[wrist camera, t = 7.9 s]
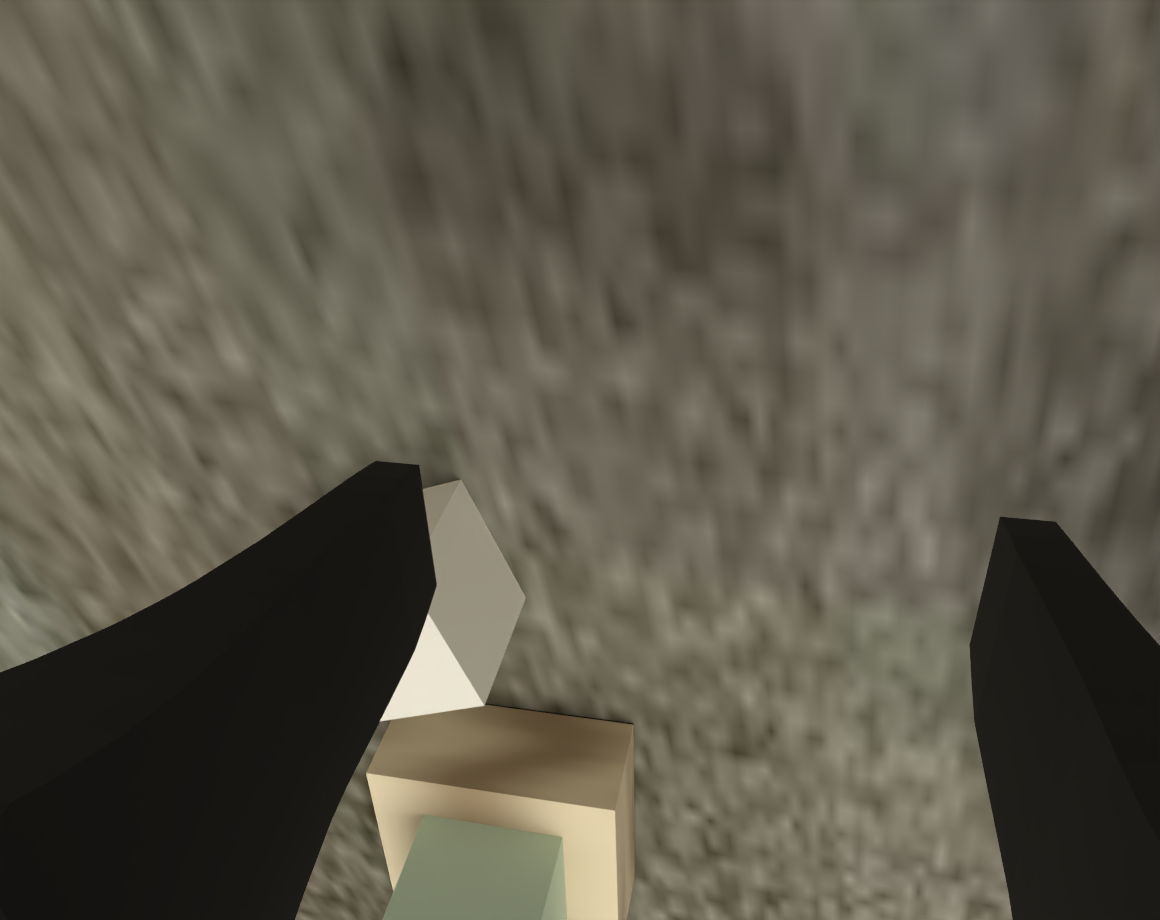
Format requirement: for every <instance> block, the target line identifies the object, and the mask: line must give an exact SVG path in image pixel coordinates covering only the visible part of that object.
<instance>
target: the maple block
mask: <svg viewBox="0 0 1160 920" xmlns="http://www.w3.org/2000/svg"><path fill="white" fill-rule="evenodd" d="M366 774H367V779H368V783H369V787H370V792H371V796H372V800H373V805H374V809H375V813H376V818H377V822H378V827H379V831H380V835H381V840H382V844H383V848H384V853H385V857H386V861H387V866H388V870H389V874H390V879H391V883H392V887H393V892H394V889H395V887H396V884H397V882H398V879H399V877H400V874H401V872H402V869H403V866H404V864H405V861H406V859H407V856H408V854H409V851H410V849H411V846H412V844H413V841H414V839H415V836H416V834H417V831H418V829H419V826H420V824H421V821H422V819H423V816H424V814H425V815H431V816H437V817H443V818H449V819H455V820H461V821H467V822H473V823H479V824H485V825H491V826H497V827H503V828H509V829H515V830H522V831H528V832H534V833H540V834H546V835H552V836H558V837H563V854H564V872H565V890H566V908H567V920H627V915H628V910H629V904H630V899H631V894H632V888H633V883H634V877H635V804H634V725H632V724H625V723H617V722H610V721H602V720H595V719H588V718H580V717H573V716H565V715H558V714H551V713H543V712H536V711H528V710H521V709H513V708H506V707H499V706H491V705H485V706H479V707H472V708H466V709H459V710H452V711H446V712H439V713H432V714H426V715H419V716H412V717H405V718H399V719H392V720H391V722H390V724H389V726H388V728H387V730H386V732H385V734H384V736H383V739H382V741H381V743H380V745H379V747H378V749H377V751H376V753H375V756H374V758H373V760H372V762H371V764H370V766H369V768H368V770H367V773H366Z"/></svg>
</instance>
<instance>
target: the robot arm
mask: <svg viewBox="0 0 1160 920" xmlns="http://www.w3.org/2000/svg"><path fill="white" fill-rule="evenodd" d="M436 587H437V582H436V575H435V569H434V562H433V555H432V549H431V542H430V535H429V529H428V522H427V515H426V508H425V502H424V495H423V488H422V482H421V475H420V468H419V465H413V464H402V463H391V462H380V461H375V462H373V463H372V464H370V465H368V466H367V467H365V468H364V469H362V470H361V471H359V472H358V473H356V474H355V475H353V476H352V477H350V478H349V479H347V480H346V481H344V482H343V483H342V484H340V485H339V486H337V487H336V488H334V489H333V490H332V491H330V492H329V493H327V494H326V495H324V496H323V497H322V498H320V499H319V500H317V501H316V502H315V503H313V504H312V505H310V506H309V507H307V508H306V509H305V510H303V511H302V512H300V513H299V514H297V515H296V516H294V517H293V518H292V519H290V520H289V521H287V522H286V523H284V524H283V525H281V526H280V527H279V528H277V529H276V530H274V531H273V532H271V533H270V534H268V535H267V536H265V537H264V538H263V539H261V540H260V541H258V542H257V543H255V544H253V545H252V546H250V547H249V548H247V549H245V550H244V551H242V552H241V553H239V554H237V555H236V556H234V557H233V558H231V559H229V560H228V561H226V562H225V563H223V564H221V565H220V566H218V567H217V568H215V569H214V570H212V571H210V572H209V573H207V574H206V575H204V576H202V577H201V578H199V579H198V580H196V581H194V582H193V583H191V584H189V585H187V586H186V587H184V588H182V589H180V590H179V591H177V592H175V593H173V594H171V595H170V596H168V597H166V598H164V599H162V600H161V601H159V602H157V603H155V604H153V605H151V606H149V607H147V608H145V609H143V610H141V611H139V612H137V613H135V614H133V615H132V616H130V617H128V618H126V619H124V620H122V621H120V622H118V623H116V624H114V625H111V626H109V627H107V628H105V629H103V630H101V631H98V632H96V633H94V634H91V635H89V636H87V637H85V638H82V639H80V640H78V641H75V642H73V643H71V644H69V645H66V646H64V647H62V648H59V649H57V650H55V651H53V652H50V653H48V654H46V655H43V656H41V657H39V658H37V659H34V660H32V661H29V662H27V663H24V664H21V665H19V666H16V667H13V668H11V669H8V670H6V671H3V672H0V920H295V917H296V914H297V912H298V909H299V906H300V903H301V900H302V897H303V894H304V892H305V889H306V886H307V883H308V881H309V878H310V875H311V873H312V870H313V868H314V865H315V862H316V860H317V857H318V854H319V852H320V849H321V846H322V844H323V841H324V838H325V836H326V833H327V831H328V828H329V825H330V823H331V820H332V818H333V816H334V813H335V811H336V809H337V807H338V804H339V802H340V800H341V798H342V796H343V793H344V791H345V789H346V787H347V785H348V783H349V781H350V779H351V777H352V775H353V773H354V771H355V769H356V767H357V765H358V763H359V761H360V759H361V757H362V755H363V753H364V751H365V750H366V748H367V746H368V744H369V742H370V740H371V738H372V736H373V734H374V732H375V730H376V728H377V726H378V724H379V722H380V720H381V718H382V716H383V714H384V712H385V710H386V708H387V706H388V704H389V702H390V700H391V698H392V696H393V694H394V692H395V690H396V688H397V686H398V684H399V682H400V680H401V678H402V676H403V674H404V672H405V670H406V668H407V666H408V664H409V662H410V660H411V658H412V656H413V653H414V651H415V649H416V646H417V643H418V641H419V638H420V635H421V632H422V629H423V626H424V624H425V621H426V618H427V615H428V612H429V608H430V605H431V602H432V599H433V596H434V593H435V590H436ZM970 659H971V678H972V694H973V707H974V721H975V726H976V732H977V737H978V742H979V747H980V752H981V757H982V763H983V768H984V773H985V778H986V783H987V788H988V793H989V798H990V803H991V808H992V813H993V817H994V822H995V827H996V832H997V837H998V842H999V847H1000V852H1001V857H1002V862H1003V867H1004V872H1005V877H1006V882H1007V887H1008V892H1009V898H1010V905H1011V911H1012V917H1013V920H1160V645H1159V644H1158V643H1157V642H1156V641H1155V640H1154V639H1153V638H1152V636H1151V635H1150V634H1149V633H1148V632H1147V631H1146V630H1145V629H1144V627H1143V626H1142V625H1141V624H1140V623H1139V622H1138V621H1137V620H1136V618H1135V617H1134V616H1133V615H1132V614H1131V613H1130V611H1129V610H1128V609H1127V608H1126V607H1125V606H1124V604H1123V603H1122V602H1121V601H1120V600H1119V598H1118V597H1117V596H1116V595H1115V594H1114V592H1113V591H1112V590H1111V589H1110V588H1109V586H1108V585H1107V584H1106V583H1105V582H1104V580H1103V579H1102V578H1101V577H1100V575H1099V574H1098V573H1097V572H1096V571H1095V569H1094V568H1093V567H1092V566H1091V564H1090V563H1089V562H1088V561H1087V559H1086V558H1085V557H1084V556H1083V554H1082V553H1081V552H1080V551H1079V550H1078V548H1077V547H1076V546H1075V545H1074V543H1073V542H1072V541H1071V540H1070V538H1069V537H1068V536H1067V535H1066V534H1065V532H1064V531H1063V530H1062V529H1061V528H1060V526H1059V525H1058V524H1057V523H1056V522H1052V521H1041V520H1030V519H1018V518H1007V517H1000V519H999V524H998V528H997V532H996V536H995V541H994V545H993V549H992V553H991V557H990V562H989V566H988V570H987V574H986V579H985V583H984V587H983V591H982V595H981V600H980V604H979V608H978V612H977V617H976V621H975V625H974V629H973V633H972V638H971V642H970Z"/></svg>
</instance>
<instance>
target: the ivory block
mask: <svg viewBox="0 0 1160 920" xmlns="http://www.w3.org/2000/svg"><path fill="white" fill-rule="evenodd" d="M423 495H424V502H425V508H426V515H427V522H428V529H429V535H430V542H431V549H432V555H433V562H434V569H435V575H436V582H437V587H436V590H435V593H434V596H433V599H432V602H431V605H430V608H429V612H428V615H427V618H426V621H425V624H424V626H423V629H422V632H421V635H420V638H419V641H418V643H417V646H416V649H415V651H414V653H413V656H412V658H411V660H410V662H409V664H408V666H407V668H406V670H405V672H404V674H403V676H402V678H401V680H400V682H399V684H398V686H397V688H396V690H395V692H394V694H393V696H392V698H391V700H390V702H389V704H388V706H387V708H386V710H385V712H384V714H383V716H382V718H381V720H380V721H385V720H392V719H399V718H405V717H412V716H419V715H426V714H432V713H439V712H446V711H452V710H459V709H466V708H472V707H479V706H485V703H486V700H487V698H488V695H489V693H490V690H491V687H492V685H493V682H494V680H495V677H496V674H497V672H498V669H499V667H500V664H501V661H502V659H503V656H504V654H505V651H506V648H507V646H508V643H509V641H510V638H511V635H512V633H513V630H514V628H515V625H516V622H517V620H518V617H519V615H520V612H521V609H522V607H523V604H524V601H525V599H526V597H525V595H524V593H523V591H522V590H521V588H520V586H519V584H518V582H517V581H516V579H515V577H514V575H513V573H512V571H511V570H510V568H509V566H508V564H507V562H506V560H505V559H504V557H503V555H502V553H501V551H500V550H499V548H498V546H497V544H496V542H495V540H494V539H493V537H492V535H491V533H490V531H489V530H488V528H487V526H486V524H485V522H484V520H483V519H482V517H481V515H480V513H479V511H478V510H477V508H476V506H475V504H474V502H473V500H472V499H471V497H470V495H469V493H468V491H467V490H466V488H465V486H464V484H463V482H462V480H457V481H453V482H449V483H445V484H441V485H437V486H433V487H429V488H425V489H423Z"/></svg>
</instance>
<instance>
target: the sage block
mask: <svg viewBox="0 0 1160 920" xmlns="http://www.w3.org/2000/svg"><path fill="white" fill-rule="evenodd" d="M382 920H567V908H566V890H565V872H564V854H563V837H558V836H552V835H546V834H540V833H534V832H528V831H522V830H515V829H509V828H503V827H497V826H491V825H485V824H479V823H473V822H467V821H461V820H455V819H449V818H443V817H437V816H431V815H425V814H424V816H423V819H422V821H421V824H420V826H419V829H418V831H417V834H416V836H415V839H414V841H413V844H412V846H411V849H410V851H409V854H408V856H407V859H406V861H405V864H404V866H403V869H402V872H401V874H400V877H399V879H398V882H397V884H396V887H395V889H394V892H393V894H392V897H391V899H390V902H389V904H388V907H387V909H386V912H385V914H384V917H383V919H382Z"/></svg>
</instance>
